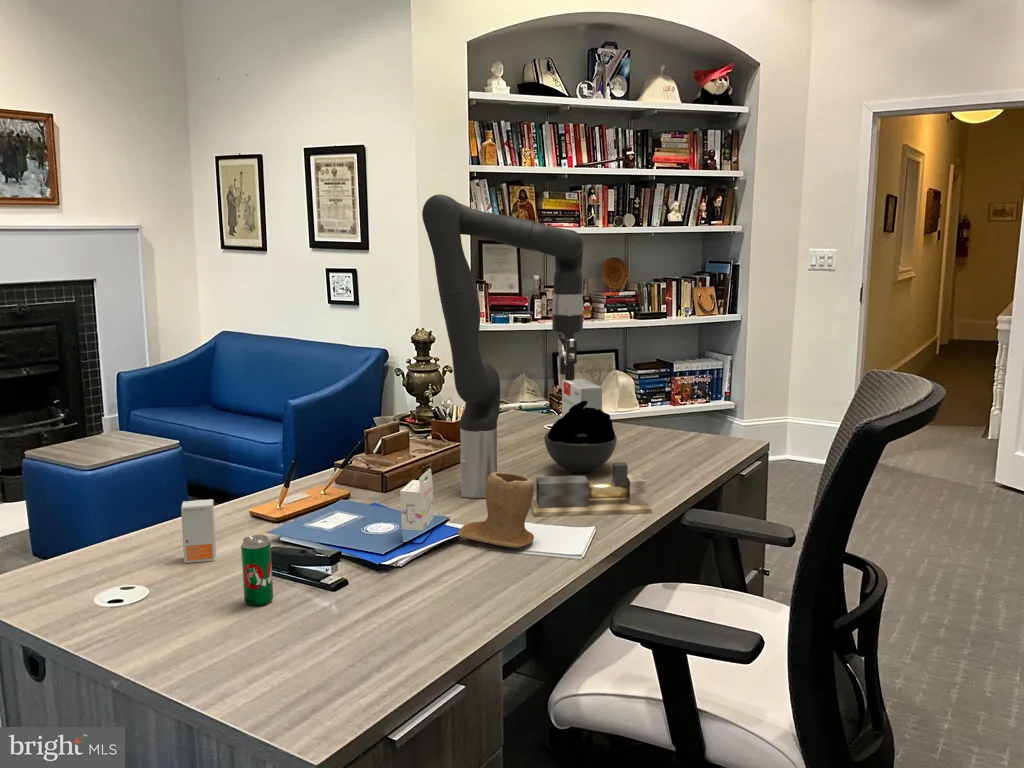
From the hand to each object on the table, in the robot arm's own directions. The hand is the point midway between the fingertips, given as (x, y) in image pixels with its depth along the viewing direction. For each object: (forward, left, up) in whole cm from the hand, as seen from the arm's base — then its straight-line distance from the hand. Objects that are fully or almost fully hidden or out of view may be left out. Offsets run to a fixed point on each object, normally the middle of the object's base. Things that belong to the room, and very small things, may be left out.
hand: (567, 377), depth 214 cm
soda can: (-65, -59, -30) cm, 93 cm away
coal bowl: (+7, +20, -30) cm, 37 cm away
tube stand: (+4, -11, -30) cm, 32 cm away
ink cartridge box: (-37, -28, -30) cm, 55 cm away
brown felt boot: (-19, -32, -30) cm, 48 cm away
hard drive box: (+12, +48, -30) cm, 58 cm away
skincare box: (-81, -37, -30) cm, 94 cm away
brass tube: (+8, -11, -28) cm, 31 cm away
